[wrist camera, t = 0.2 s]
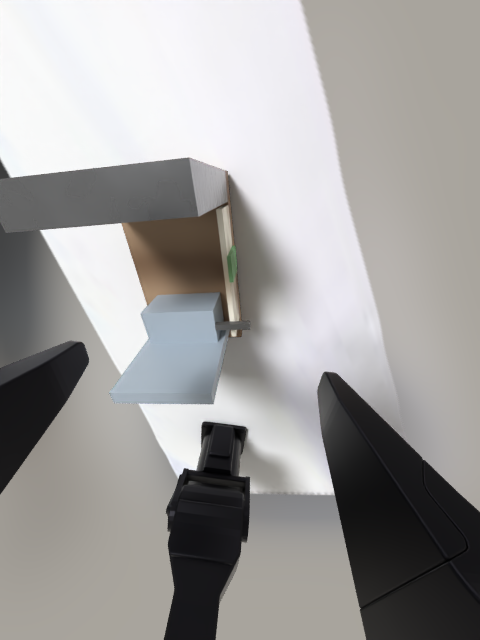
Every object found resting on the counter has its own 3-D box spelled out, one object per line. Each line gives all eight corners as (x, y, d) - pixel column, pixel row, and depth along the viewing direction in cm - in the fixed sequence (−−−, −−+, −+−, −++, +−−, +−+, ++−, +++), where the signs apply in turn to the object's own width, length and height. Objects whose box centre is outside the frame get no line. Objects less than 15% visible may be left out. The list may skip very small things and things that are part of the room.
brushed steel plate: (227, 201, 18) (198, 216, 10) (117, 211, 19) (5, 232, 11) (224, 170, 17) (189, 157, 9) (108, 182, 18) (-23, 181, 10)
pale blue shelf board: (253, 328, 23) (248, 404, 15) (163, 330, 24) (114, 403, 16) (250, 290, 21) (243, 356, 13) (152, 295, 22) (90, 357, 14)
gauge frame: (244, 329, 25) (241, 357, 21) (163, 331, 26) (144, 358, 22) (230, 171, 18) (221, 167, 14) (119, 182, 19) (80, 182, 15)
